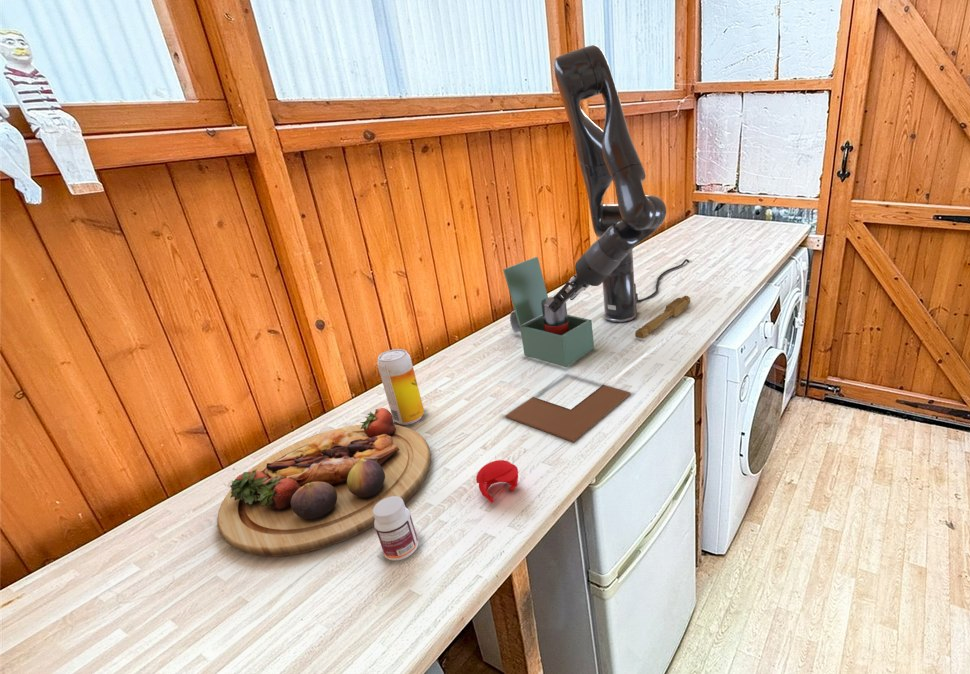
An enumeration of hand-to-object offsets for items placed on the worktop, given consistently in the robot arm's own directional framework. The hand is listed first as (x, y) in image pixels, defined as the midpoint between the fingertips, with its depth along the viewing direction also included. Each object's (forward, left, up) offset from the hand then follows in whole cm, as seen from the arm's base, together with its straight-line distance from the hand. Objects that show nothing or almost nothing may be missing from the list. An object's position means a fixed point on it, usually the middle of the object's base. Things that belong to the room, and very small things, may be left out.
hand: (560, 303), depth 127 cm
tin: (0, -2, -14) cm, 14 cm away
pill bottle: (+61, +19, -15) cm, 66 cm away
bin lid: (0, -10, +2) cm, 10 cm away
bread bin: (0, -2, -14) cm, 15 cm away
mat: (+18, +16, -14) cm, 28 cm away
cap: (+45, +23, -15) cm, 53 cm away
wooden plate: (+58, -4, -15) cm, 60 cm away
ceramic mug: (-7, -20, -15) cm, 26 cm away
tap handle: (-31, +11, -15) cm, 36 cm away
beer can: (+38, -11, -15) cm, 42 cm away
